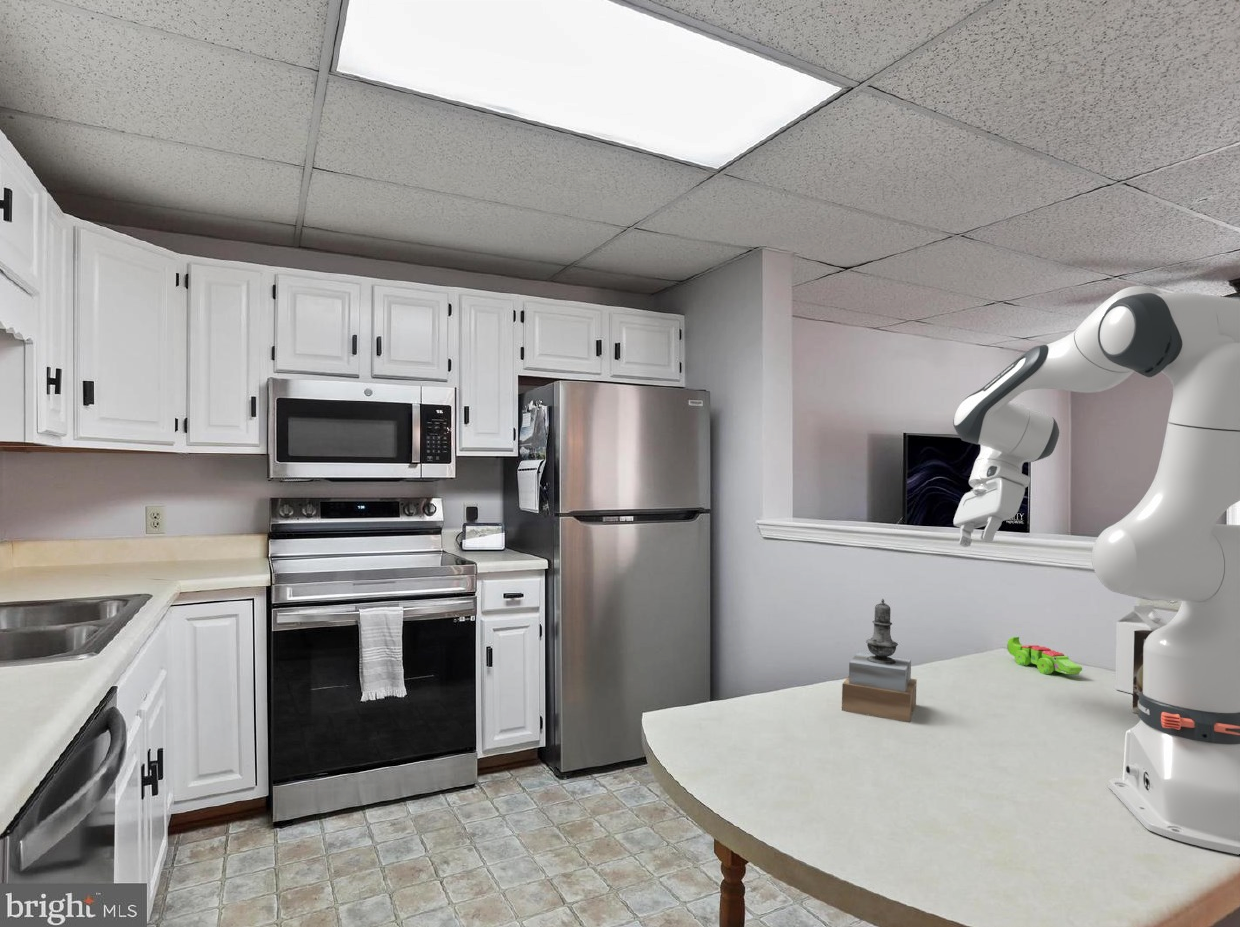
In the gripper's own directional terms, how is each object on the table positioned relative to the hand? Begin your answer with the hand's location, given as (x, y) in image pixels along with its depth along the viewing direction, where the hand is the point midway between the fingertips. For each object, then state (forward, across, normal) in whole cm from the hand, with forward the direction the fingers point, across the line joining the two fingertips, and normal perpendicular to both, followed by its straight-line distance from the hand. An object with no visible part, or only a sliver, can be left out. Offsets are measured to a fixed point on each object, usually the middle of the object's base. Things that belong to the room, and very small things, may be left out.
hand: (974, 543), depth 144 cm
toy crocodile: (+13, -37, +39) cm, 55 cm away
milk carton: (+12, -19, +50) cm, 55 cm away
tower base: (+37, -2, -7) cm, 38 cm away
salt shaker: (+29, 0, -10) cm, 31 cm away
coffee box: (+18, -2, +44) cm, 48 cm away
